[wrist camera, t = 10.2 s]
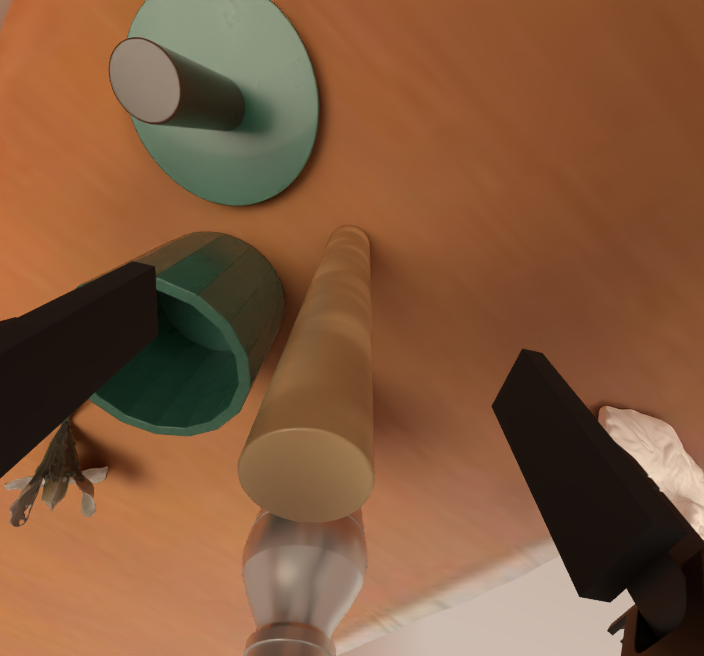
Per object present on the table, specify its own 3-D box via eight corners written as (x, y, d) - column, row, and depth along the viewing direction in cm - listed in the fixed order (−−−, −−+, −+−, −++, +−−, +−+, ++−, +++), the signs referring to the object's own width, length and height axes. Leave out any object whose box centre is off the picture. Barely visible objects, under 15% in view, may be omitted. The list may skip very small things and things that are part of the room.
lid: (323, -11, 19) (290, -128, 11) (319, 209, 24) (294, 241, 16) (114, -26, 19) (-76, -153, 11) (155, 197, 24) (47, 223, 16)
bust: (560, 394, 33) (548, 521, 28) (650, 379, 27) (655, 542, 22) (645, 446, 36) (648, 571, 31) (747, 444, 29) (772, 603, 24)
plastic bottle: (278, 375, 31) (159, 686, 13) (346, 346, 29) (314, 655, 12) (315, 425, 33) (256, 742, 16) (379, 401, 32) (395, 725, 14)
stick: (371, 226, 25) (381, 434, 7) (367, 267, 26) (368, 528, 8) (329, 223, 25) (230, 422, 7) (327, 264, 26) (242, 518, 8)
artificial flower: (177, 335, 31) (140, 436, 24) (115, 454, 42) (76, 549, 35) (56, 293, 27) (-35, 400, 19) (22, 438, 38) (-44, 541, 31)
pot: (283, 236, 25) (241, 282, 17) (286, 358, 30) (255, 442, 22) (139, 226, 25) (26, 266, 17) (165, 349, 30) (87, 429, 22)
